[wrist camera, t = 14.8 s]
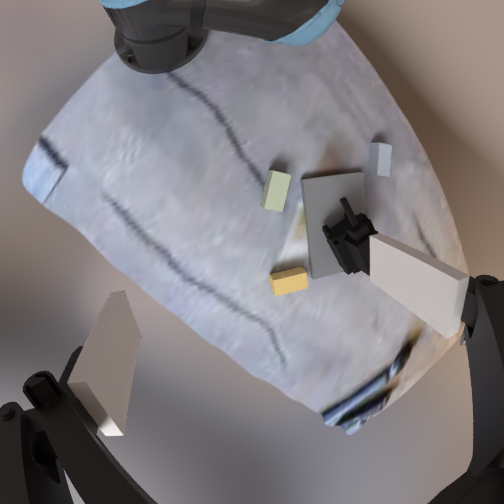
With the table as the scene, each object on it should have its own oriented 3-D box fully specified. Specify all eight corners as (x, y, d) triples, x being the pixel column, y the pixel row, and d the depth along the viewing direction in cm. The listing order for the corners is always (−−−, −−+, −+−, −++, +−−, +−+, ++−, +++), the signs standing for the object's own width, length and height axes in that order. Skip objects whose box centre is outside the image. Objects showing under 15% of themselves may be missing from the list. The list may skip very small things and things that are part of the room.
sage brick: (268, 169, 45) (273, 170, 42) (285, 174, 46) (291, 175, 43) (259, 205, 47) (264, 208, 44) (276, 209, 47) (282, 212, 45)
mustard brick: (271, 288, 52) (275, 296, 49) (268, 273, 51) (273, 280, 48) (301, 281, 52) (307, 287, 50) (300, 266, 51) (306, 272, 49)
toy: (336, 181, 46) (369, 187, 37) (367, 245, 52) (399, 262, 42) (302, 204, 46) (329, 215, 37) (337, 268, 52) (365, 290, 42)
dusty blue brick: (370, 142, 47) (379, 142, 44) (382, 145, 48) (391, 145, 45) (367, 173, 49) (377, 174, 46) (380, 175, 49) (389, 177, 47)
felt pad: (300, 179, 46) (303, 179, 45) (360, 171, 48) (363, 172, 47) (310, 277, 52) (313, 279, 51) (364, 262, 54) (367, 264, 53)
